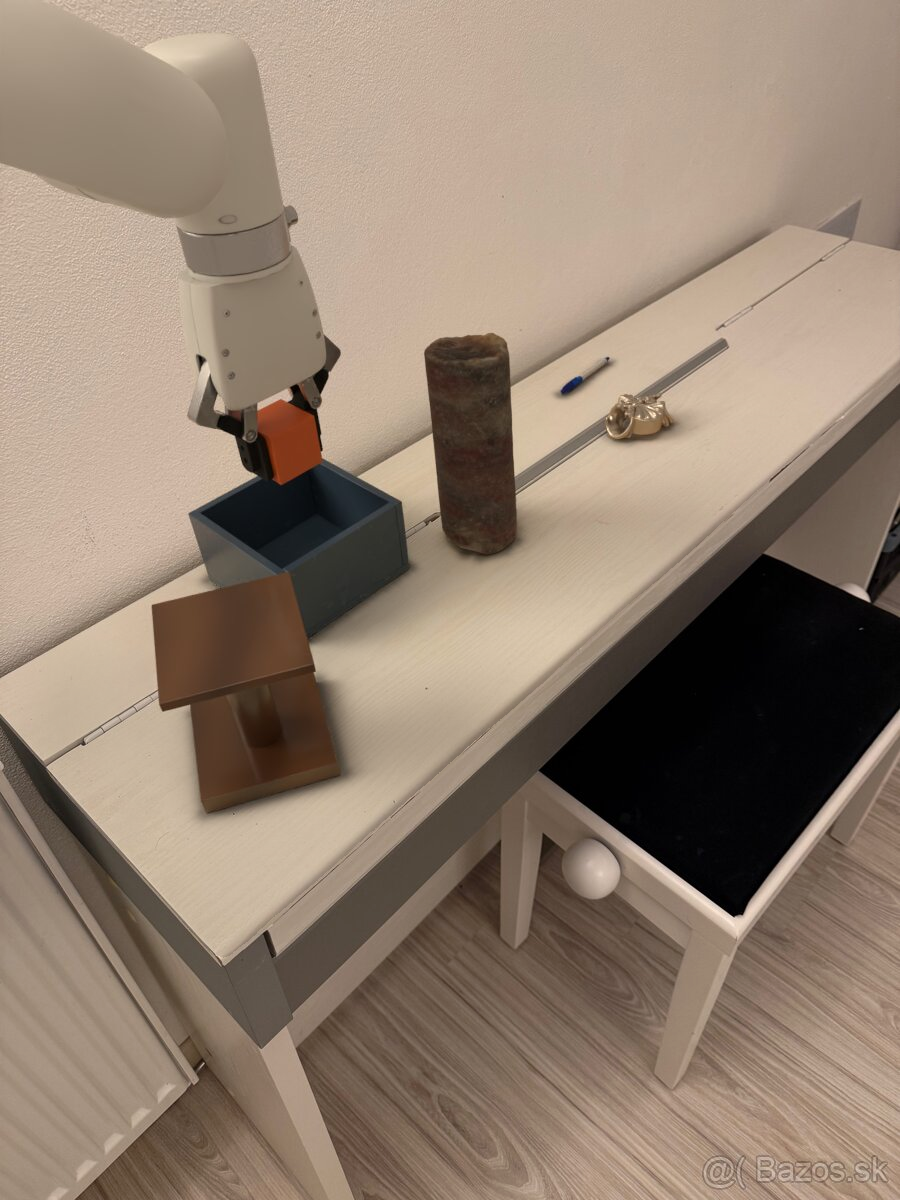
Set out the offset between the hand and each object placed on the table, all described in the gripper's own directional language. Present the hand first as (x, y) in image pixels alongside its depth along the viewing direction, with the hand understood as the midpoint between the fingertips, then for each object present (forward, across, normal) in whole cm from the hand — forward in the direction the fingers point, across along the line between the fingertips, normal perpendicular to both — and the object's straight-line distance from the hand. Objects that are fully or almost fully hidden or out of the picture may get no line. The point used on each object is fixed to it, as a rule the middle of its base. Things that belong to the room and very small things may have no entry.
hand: (284, 458), depth 73 cm
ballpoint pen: (+13, -46, -3) cm, 48 cm away
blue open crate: (+13, 0, 0) cm, 13 cm away
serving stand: (+13, +15, +13) cm, 24 cm away
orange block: (+1, 0, 0) cm, 1 cm away
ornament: (+13, -41, +8) cm, 44 cm away
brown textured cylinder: (+13, -15, +8) cm, 21 cm away
